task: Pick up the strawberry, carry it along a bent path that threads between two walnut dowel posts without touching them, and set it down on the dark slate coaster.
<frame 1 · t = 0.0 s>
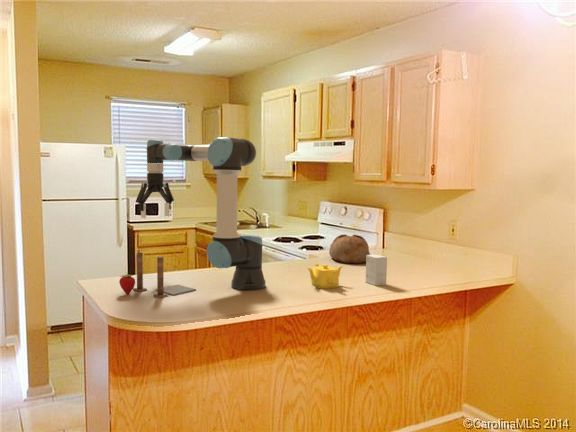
hand: (155, 217, 240), 28 cm above the counter, fingers open, 13 cm apart
teapot: (324, 286, 227), on the counter
strawberry: (127, 295, 204), on the counter
post 2: (160, 296, 202), on the counter
bread: (349, 260, 292), on the counter
slate coaster: (175, 290, 212), on the counter
post 1: (139, 290, 211), on the counter
small box: (375, 283, 233), on the counter
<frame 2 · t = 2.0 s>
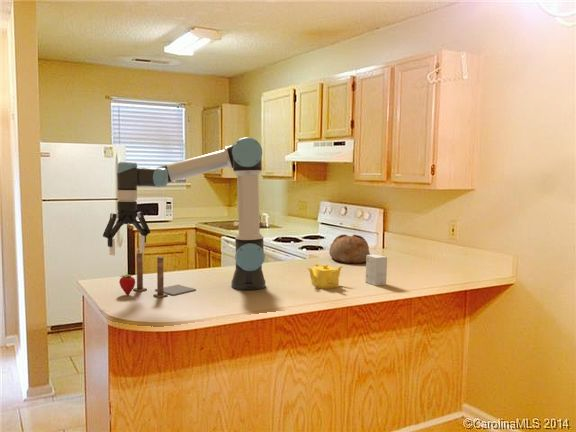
hand: (127, 253, 203), 17 cm above the counter, fingers open, 13 cm apart
nothing on the counter moved.
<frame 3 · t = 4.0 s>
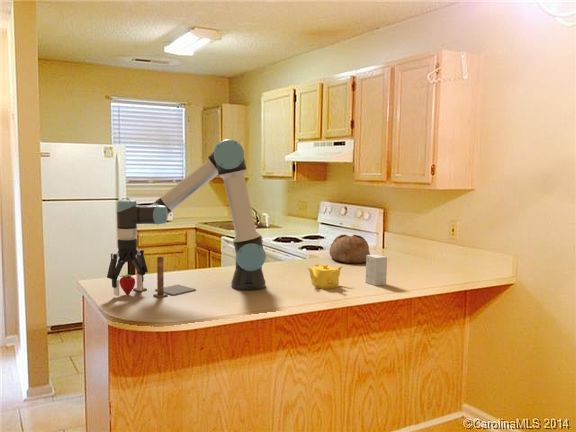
hand: (128, 292, 203), 1 cm above the counter, fingers open, 10 cm apart
nothing on the counter moved.
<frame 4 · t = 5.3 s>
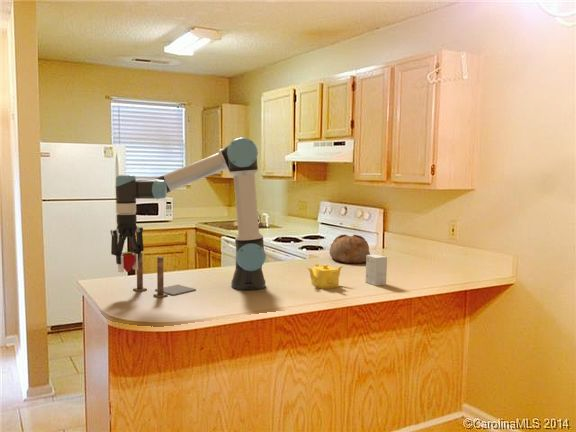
hand: (128, 270, 202), 10 cm above the counter, fingers closed on strawberry, 6 cm apart
strawberry: (127, 272, 202), point 9 cm above the counter, touching gripper
everything else where it was.
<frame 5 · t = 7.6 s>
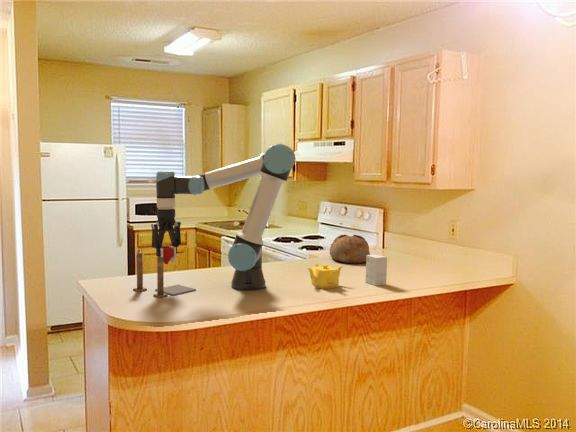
hand: (167, 262, 210), 12 cm above the counter, fingers closed on strawberry, 6 cm apart
strawberry: (166, 264, 211), point 11 cm above the counter, touching gripper
everything else where it was.
when the fingers open (1 cm above the counter, at t = 10.3 s): strawberry stays where it is, resting on slate coaster.
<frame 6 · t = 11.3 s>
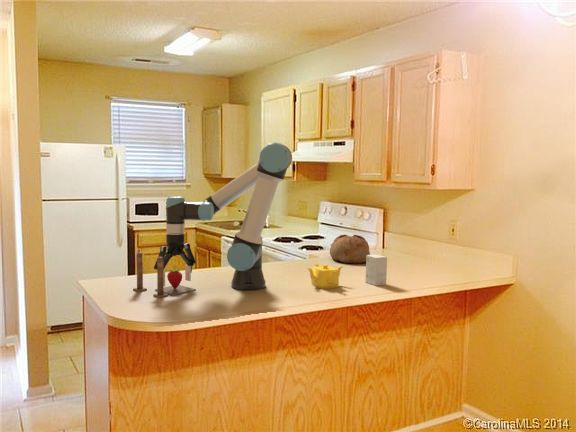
hand: (175, 283, 212), 3 cm above the counter, fingers open, 13 cm apart
strawberry: (174, 289, 212), resting on slate coaster
everything else where it was.
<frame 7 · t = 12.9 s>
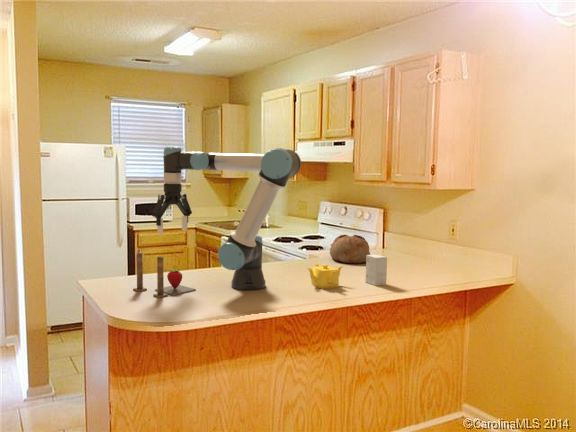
hand: (172, 231, 217), 24 cm above the counter, fingers open, 13 cm apart
nothing on the counter moved.
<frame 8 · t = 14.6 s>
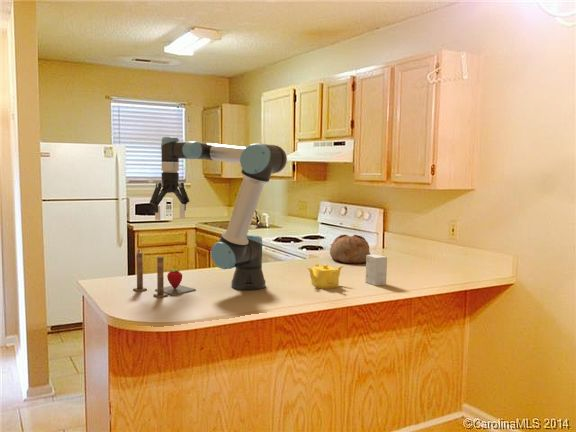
hand: (170, 219, 226), 29 cm above the counter, fingers open, 13 cm apart
nothing on the counter moved.
at the end: strawberry 0.5 cm from the slate coaster (horizontally); strawberry on the counter; the gripper is holding nothing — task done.
